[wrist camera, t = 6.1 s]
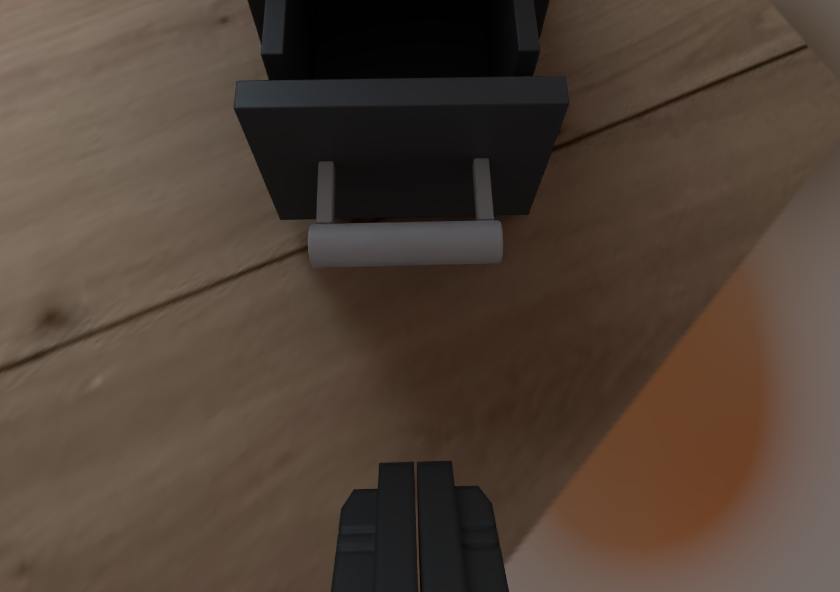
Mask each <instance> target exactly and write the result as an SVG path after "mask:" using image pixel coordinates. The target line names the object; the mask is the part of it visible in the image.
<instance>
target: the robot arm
mask: <svg viewBox="0 0 840 592" xmlns="http://www.w3.org/2000/svg"><path fill="white" fill-rule="evenodd" d="M417 493H418V538H419V567H420V592H509V589H508V584H507V580H506V574H505V569H504V563H503V558H502V553H501V548H500V545H499V538H498V533H497V529H496V522H495V517H494V512H493V507H492V503H491V502H490V501H489V499H488V498H487V497H486V495H485V494H484V493H483V491H482V490H481V489H480V488H479V486H455V485H454V476H453V468H452V462H451V461H429V462H417ZM331 592H418V577H417V545H416V514H415V482H414V462H391V463H379V478H378V489H354V490H353V492H352V493H351V495H350V496H349V498H348V499H347V501H346V502H345V504H344V505H343V507H342V508H341V515H340V523H339V534H338V539H337V547H336V555H335V563H334V571H333V579H332V588H331Z"/></svg>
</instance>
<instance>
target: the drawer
mask: <svg viewBox="0 0 840 592" xmlns="http://www.w3.org/2000/svg"><path fill="white" fill-rule="evenodd" d="M539 53H540V45H539V37H538V29H537V22H536V14H535V7H534V0H265V11H264V23H263V35H262V47H261V56H262V59H263V63H264V66H265V69H266V72H267V75H268V79H269V80H259V81H237V82H236V92H235V102H234V110H235V112H236V115H237V117H238V119H239V122H240V124H241V127H242V129H243V131H244V134H245V136H246V139H247V141H248V143H249V146H250V148H251V151H252V153H253V155H254V158H255V160H256V163H257V165H258V167H259V170H260V172H261V175H262V177H263V179H264V182H265V184H266V187H267V189H268V191H269V194H270V196H271V199H272V201H273V203H274V206H275V208H276V211H277V213H278V215H279V218H280V220H299V219H316V223H317V224H311V225H310V227H309V231H308V254H309V261H310V264H311V266H312V267H314V268H320V267H364V266H409V265H453V264H498V263H500V262H501V260H502V256H503V230H502V225H501V222H500V221H498V220H494V215H528V214H529V212H530V209H531V206H532V204H533V201H534V198H535V195H536V193H537V190H538V187H539V184H540V182H541V179H542V176H543V174H544V171H545V168H546V165H547V163H548V160H549V157H550V155H551V152H552V149H553V146H554V144H555V141H556V138H557V136H558V133H559V130H560V127H561V125H562V122H563V119H564V116H565V114H566V111H567V108H568V106H569V96H568V90H567V83H566V77H565V76H534V72H535V68H536V64H537V61H538V57H539ZM444 216H476V221H436V222H388V223H340V224H334V219H347V218H396V217H444Z"/></svg>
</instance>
